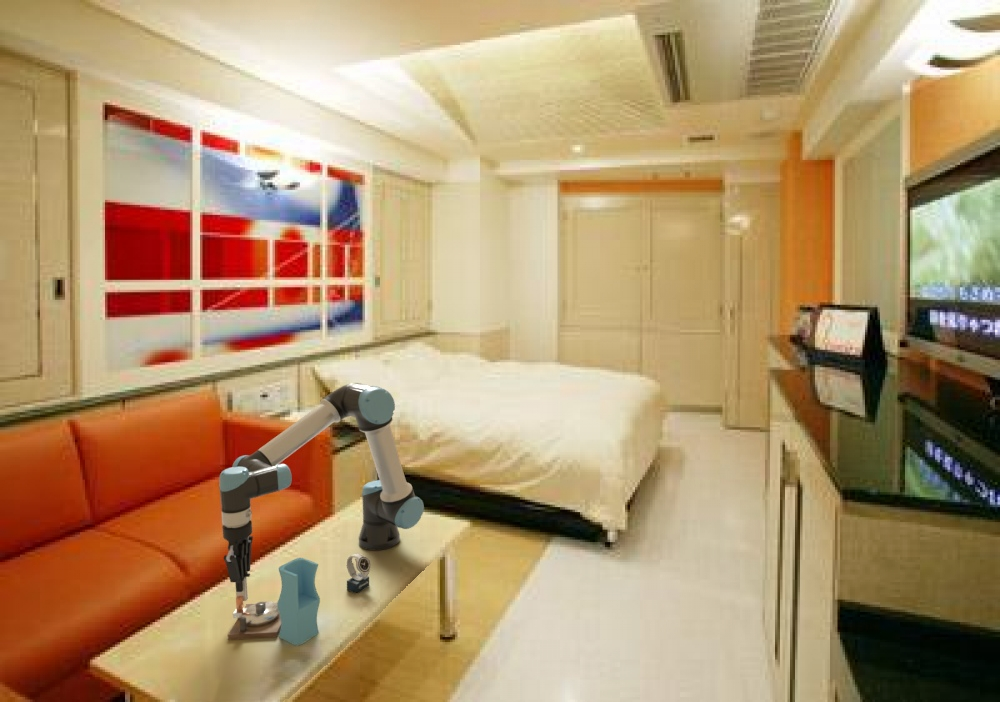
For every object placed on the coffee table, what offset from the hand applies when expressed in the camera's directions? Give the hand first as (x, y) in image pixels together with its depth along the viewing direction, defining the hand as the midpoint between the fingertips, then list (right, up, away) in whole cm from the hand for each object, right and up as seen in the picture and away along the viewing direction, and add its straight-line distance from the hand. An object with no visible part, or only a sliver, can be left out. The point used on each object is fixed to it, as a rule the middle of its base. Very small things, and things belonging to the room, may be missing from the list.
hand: (242, 599), depth 164 cm
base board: (+6, -6, -1) cm, 9 cm away
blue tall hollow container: (+19, -7, -6) cm, 21 cm away
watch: (+29, -4, +18) cm, 34 cm away
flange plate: (+5, -4, -1) cm, 6 cm away
